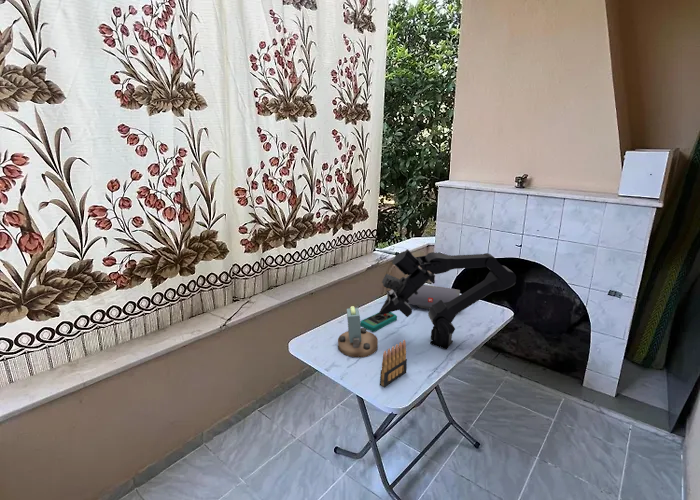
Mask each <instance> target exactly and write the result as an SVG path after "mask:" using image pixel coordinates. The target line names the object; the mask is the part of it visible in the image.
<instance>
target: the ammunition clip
mask: <svg viewBox="0 0 700 500" xmlns="http://www.w3.org/2000/svg"><path fill="white" fill-rule="evenodd" d="M406 344H407V343H406V340H405V339H403V341H400V342H399V343H396V344H395V346H394V345H393V346H392V347H391V348H390V347H389V348H388V349H387V351H386V350H384V351H383V356H382V362H381V369H380V374H379V375H380V377H379V386H381V387H382V388H385V389H386V388H387V387H388V386H390V385H391V384H392V383H394V382H395V381H397V380H398V379H400V378H401V377H404V375H406V374H407V371H408V370H407V365H408V364H407V363H408V359H407V345H406Z"/></svg>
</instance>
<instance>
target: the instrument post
mask: <svg viewBox="0 0 700 500" xmlns="http://www.w3.org/2000/svg"><path fill="white" fill-rule="evenodd" d="M346 316H347V317H346V318H347V328H348V329H347V331H348V332H349V340H350V343H353V338H359V342H361V328H362V326H361V325H360V321H361V315H360V310H359V307H355V306H354V305H352V306H350V308H346Z"/></svg>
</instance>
